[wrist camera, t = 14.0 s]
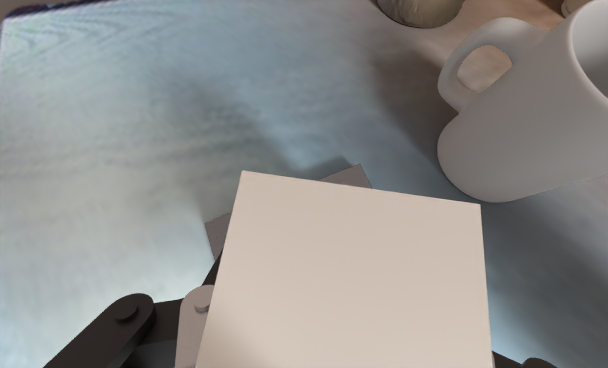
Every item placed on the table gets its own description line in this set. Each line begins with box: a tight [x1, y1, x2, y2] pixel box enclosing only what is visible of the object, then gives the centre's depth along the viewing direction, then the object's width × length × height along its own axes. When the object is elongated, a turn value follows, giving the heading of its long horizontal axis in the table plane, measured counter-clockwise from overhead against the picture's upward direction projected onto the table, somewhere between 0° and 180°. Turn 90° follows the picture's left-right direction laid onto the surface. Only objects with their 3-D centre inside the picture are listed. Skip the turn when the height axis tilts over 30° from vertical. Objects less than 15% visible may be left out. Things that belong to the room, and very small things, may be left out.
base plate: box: [205, 164, 373, 261], centre depth 14 cm, size 13×13×8 cm
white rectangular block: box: [195, 170, 493, 368], centre depth 10 cm, size 6×6×10 cm
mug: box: [437, 0, 608, 203], centre depth 16 cm, size 12×8×11 cm
